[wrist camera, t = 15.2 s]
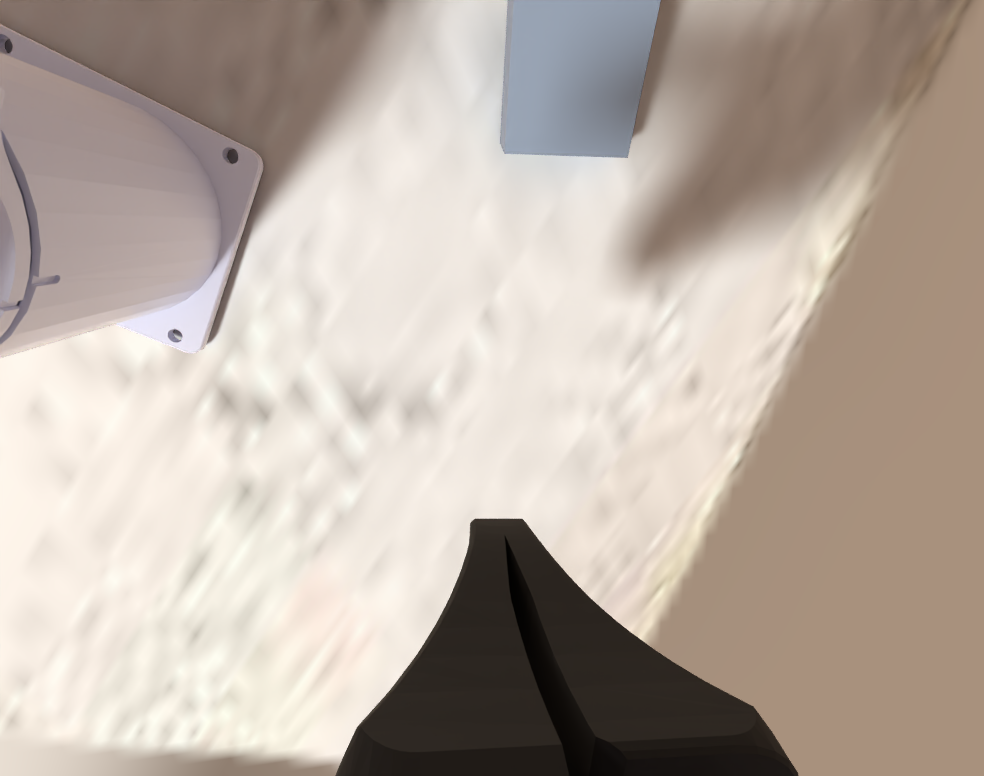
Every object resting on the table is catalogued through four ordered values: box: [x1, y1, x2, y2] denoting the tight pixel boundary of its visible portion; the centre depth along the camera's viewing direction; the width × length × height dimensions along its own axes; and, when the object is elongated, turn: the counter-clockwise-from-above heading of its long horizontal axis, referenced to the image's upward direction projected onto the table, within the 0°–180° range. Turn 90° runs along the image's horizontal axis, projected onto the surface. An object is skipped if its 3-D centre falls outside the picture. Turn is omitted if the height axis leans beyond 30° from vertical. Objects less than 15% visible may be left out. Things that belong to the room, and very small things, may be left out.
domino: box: [500, 0, 661, 158], centre depth 15 cm, size 2×4×7 cm
